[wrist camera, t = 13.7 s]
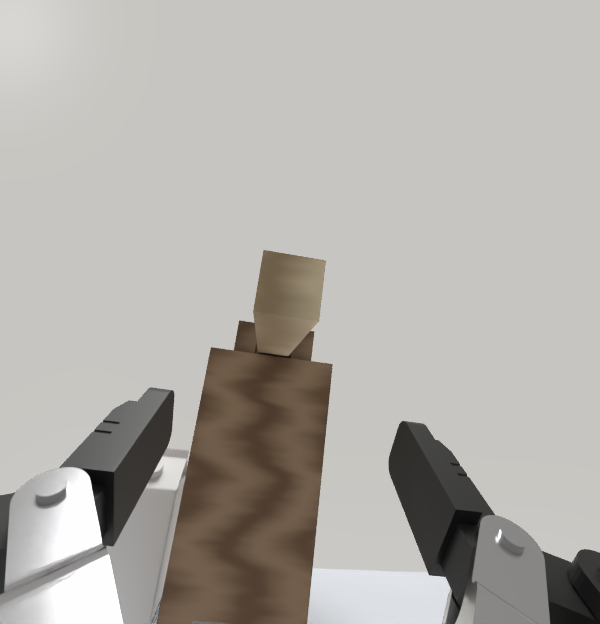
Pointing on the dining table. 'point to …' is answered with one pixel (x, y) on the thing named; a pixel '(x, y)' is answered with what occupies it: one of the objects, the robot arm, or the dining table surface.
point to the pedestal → (250, 489)
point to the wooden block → (286, 301)
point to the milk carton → (148, 541)
